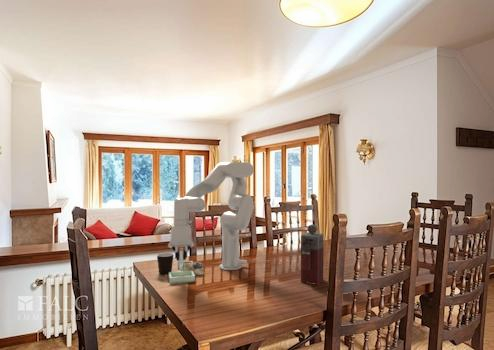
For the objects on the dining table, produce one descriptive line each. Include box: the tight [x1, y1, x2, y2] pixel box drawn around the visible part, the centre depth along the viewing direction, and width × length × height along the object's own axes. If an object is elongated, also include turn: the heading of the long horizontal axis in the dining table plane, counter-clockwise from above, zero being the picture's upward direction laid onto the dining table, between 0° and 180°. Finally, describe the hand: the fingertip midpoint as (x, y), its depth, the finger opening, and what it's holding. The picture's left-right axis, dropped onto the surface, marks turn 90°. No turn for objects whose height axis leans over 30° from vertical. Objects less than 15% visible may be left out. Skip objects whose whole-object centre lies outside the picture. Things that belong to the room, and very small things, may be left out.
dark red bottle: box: [300, 224, 324, 285], centre depth 165 cm, size 9×11×28 cm
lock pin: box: [177, 246, 185, 271], centre depth 167 cm, size 3×3×11 cm
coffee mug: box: [156, 252, 175, 276], centre depth 179 cm, size 12×9×10 cm
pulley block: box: [180, 260, 204, 276], centre depth 178 cm, size 11×7×6 cm, turn 107°
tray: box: [168, 270, 196, 285], centre depth 167 cm, size 12×10×3 cm
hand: (181, 259), depth 167 cm, fingers closed on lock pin, 3 cm apart
